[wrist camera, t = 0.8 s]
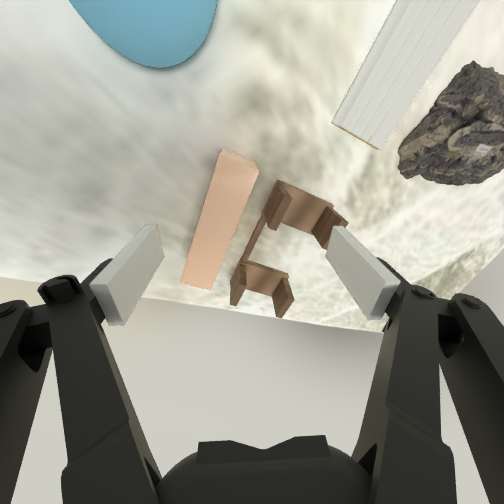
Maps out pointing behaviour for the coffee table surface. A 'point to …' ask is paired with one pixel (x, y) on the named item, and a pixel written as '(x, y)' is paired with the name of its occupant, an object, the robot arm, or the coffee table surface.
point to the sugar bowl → (150, 27)
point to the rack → (276, 210)
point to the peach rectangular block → (219, 217)
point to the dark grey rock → (460, 131)
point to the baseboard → (399, 65)
